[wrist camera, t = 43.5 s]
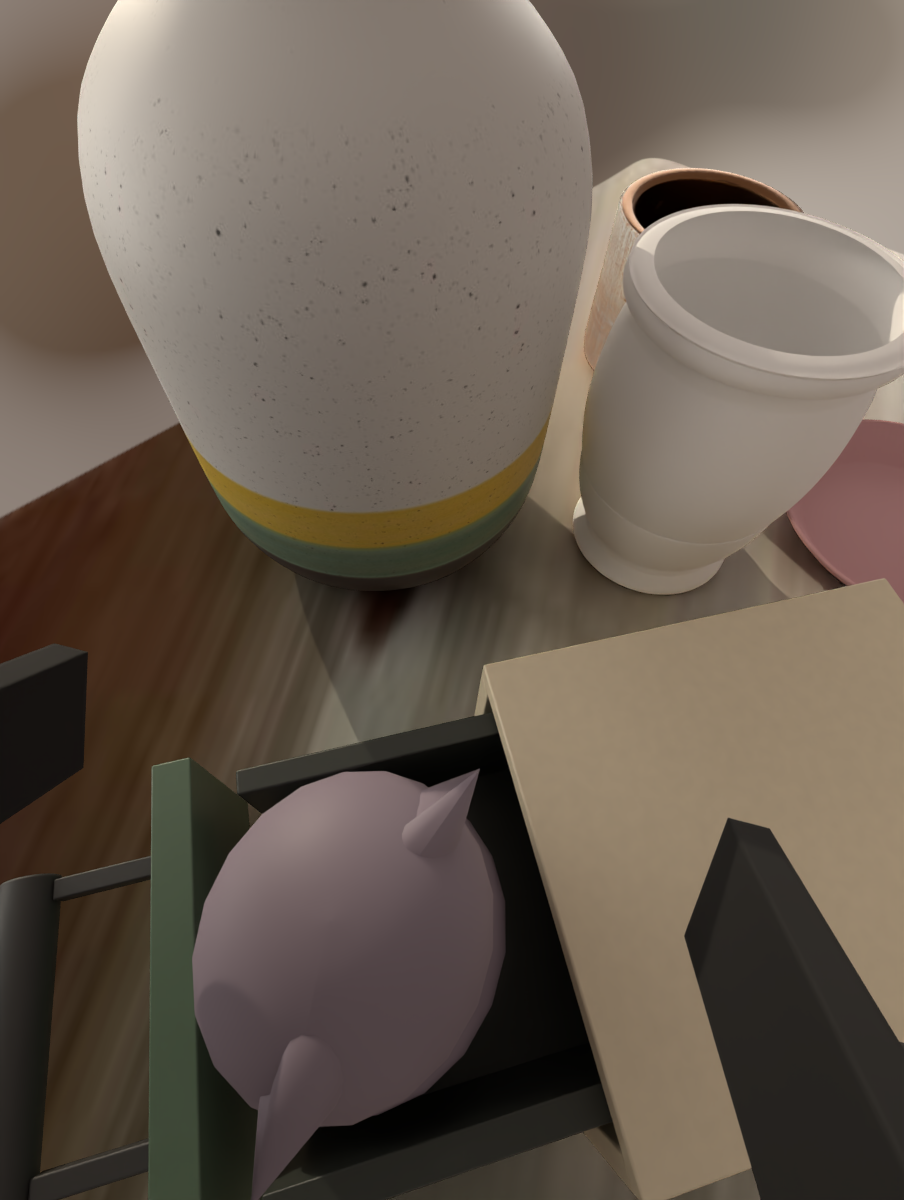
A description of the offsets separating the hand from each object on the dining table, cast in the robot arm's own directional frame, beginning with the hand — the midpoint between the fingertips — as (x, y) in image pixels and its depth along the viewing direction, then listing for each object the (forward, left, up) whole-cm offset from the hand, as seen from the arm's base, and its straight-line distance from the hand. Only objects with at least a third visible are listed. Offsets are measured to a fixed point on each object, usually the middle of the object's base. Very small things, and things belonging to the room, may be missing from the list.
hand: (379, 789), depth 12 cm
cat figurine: (-1, -2, -13) cm, 13 cm away
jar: (+17, +14, -15) cm, 26 cm away
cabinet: (+12, -2, -15) cm, 19 cm away
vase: (+3, +20, -15) cm, 25 cm away
